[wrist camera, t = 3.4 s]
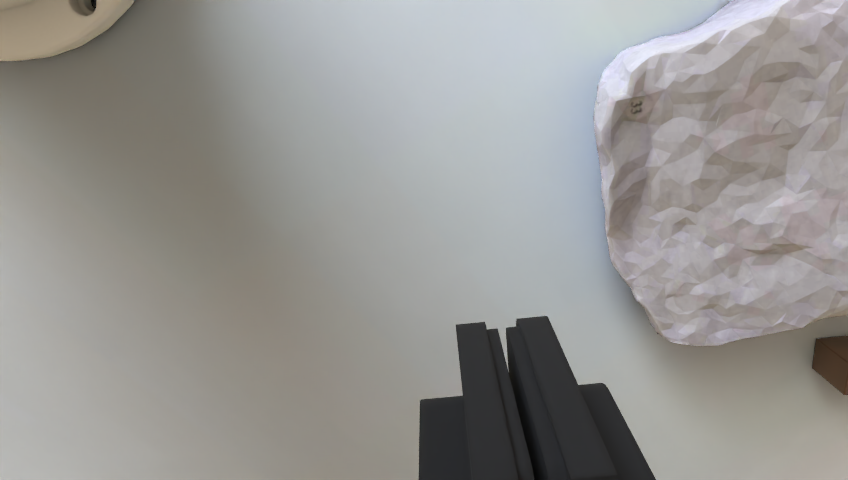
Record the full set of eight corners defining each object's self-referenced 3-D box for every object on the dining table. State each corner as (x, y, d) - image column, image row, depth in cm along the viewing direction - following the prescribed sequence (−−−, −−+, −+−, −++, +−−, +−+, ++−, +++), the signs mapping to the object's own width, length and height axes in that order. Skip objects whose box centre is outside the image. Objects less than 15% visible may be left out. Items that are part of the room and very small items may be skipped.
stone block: (633, 316, 25) (888, 249, 22) (652, 381, 21) (973, 309, 18) (544, 65, 22) (830, -56, 19) (545, 81, 18) (917, -73, 14)
